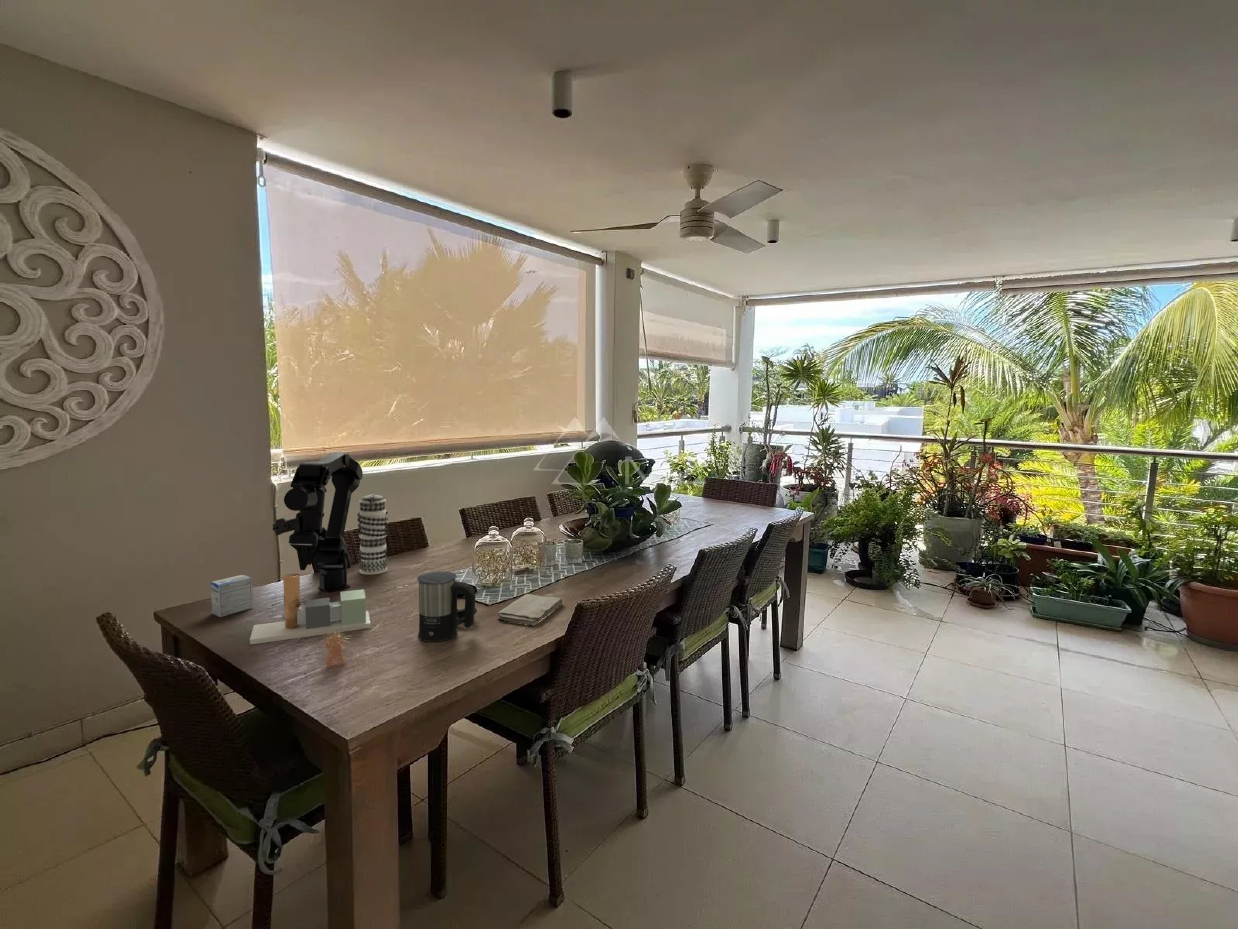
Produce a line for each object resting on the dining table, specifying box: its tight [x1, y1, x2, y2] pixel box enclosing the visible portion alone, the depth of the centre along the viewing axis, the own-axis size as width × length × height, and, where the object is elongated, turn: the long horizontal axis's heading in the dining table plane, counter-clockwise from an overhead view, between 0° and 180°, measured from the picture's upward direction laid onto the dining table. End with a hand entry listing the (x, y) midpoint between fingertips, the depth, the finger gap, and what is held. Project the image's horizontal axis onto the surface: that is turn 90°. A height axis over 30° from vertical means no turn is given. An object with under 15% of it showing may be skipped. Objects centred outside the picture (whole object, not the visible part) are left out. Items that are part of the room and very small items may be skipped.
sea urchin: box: [314, 630, 357, 669], centre depth 122 cm, size 12×12×8 cm
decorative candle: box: [356, 494, 389, 575], centre depth 186 cm, size 9×9×25 cm
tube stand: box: [249, 597, 372, 645], centre depth 140 cm, size 26×9×7 cm, turn 117°
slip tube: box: [282, 573, 341, 628], centre depth 140 cm, size 16×3×12 cm, turn 117°
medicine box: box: [210, 574, 253, 618], centre depth 149 cm, size 8×4×9 cm, turn 149°
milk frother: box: [416, 571, 478, 643], centre depth 143 cm, size 14×16×15 cm
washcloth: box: [497, 593, 563, 627], centre depth 157 cm, size 12×18×3 cm, turn 163°
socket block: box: [339, 588, 367, 625], centre depth 144 cm, size 6×7×6 cm
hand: (305, 567), depth 152 cm, fingers open, 9 cm apart
